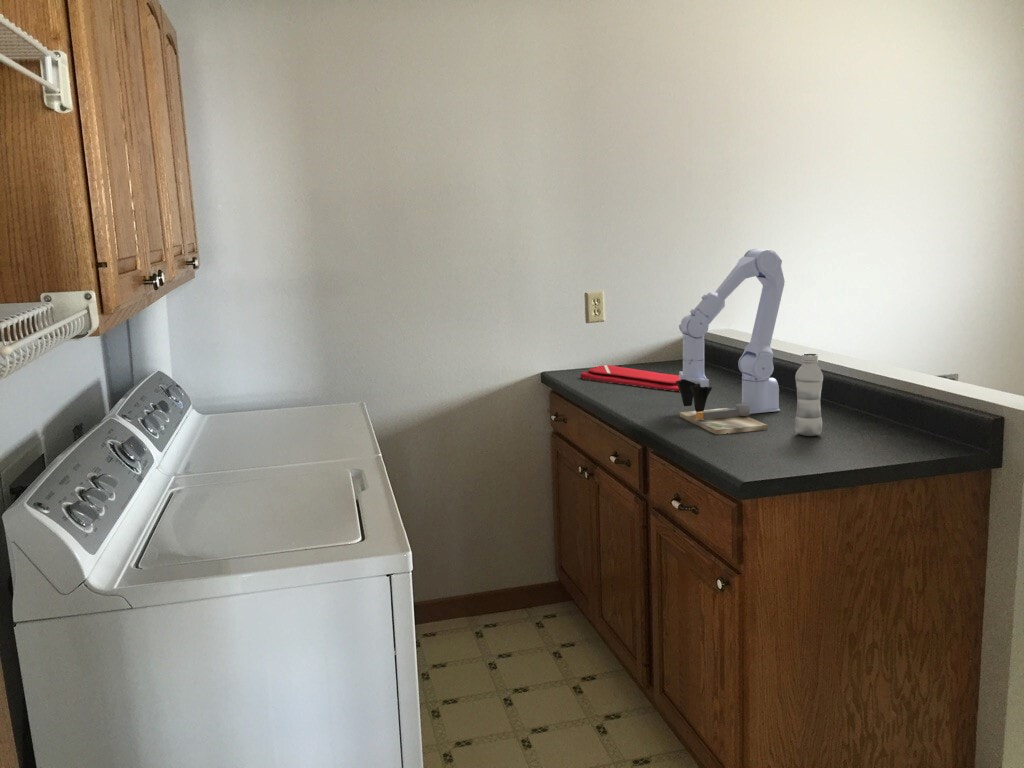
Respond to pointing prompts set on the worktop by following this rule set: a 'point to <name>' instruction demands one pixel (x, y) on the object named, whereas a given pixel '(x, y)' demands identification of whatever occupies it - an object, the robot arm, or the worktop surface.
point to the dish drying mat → (632, 377)
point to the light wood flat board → (725, 423)
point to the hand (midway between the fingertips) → (693, 408)
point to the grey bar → (725, 412)
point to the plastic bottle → (808, 396)
